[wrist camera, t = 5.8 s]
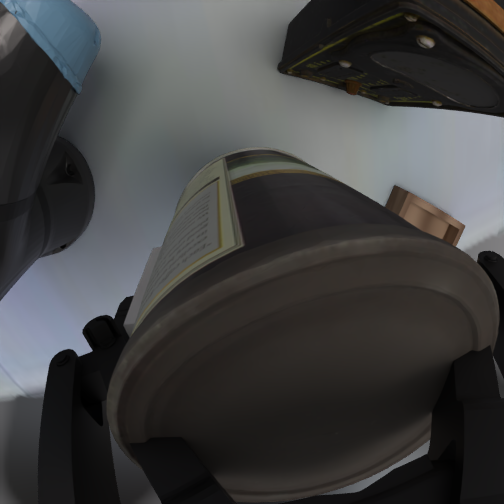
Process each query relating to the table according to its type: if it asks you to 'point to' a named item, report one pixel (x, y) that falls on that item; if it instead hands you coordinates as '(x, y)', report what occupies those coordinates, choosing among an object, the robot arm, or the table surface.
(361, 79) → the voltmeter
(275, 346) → the coffee can
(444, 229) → the walnut tray
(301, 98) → the table surface
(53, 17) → the robot arm
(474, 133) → the table surface
